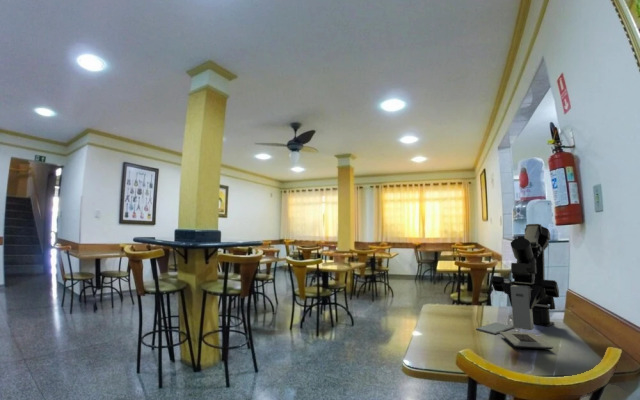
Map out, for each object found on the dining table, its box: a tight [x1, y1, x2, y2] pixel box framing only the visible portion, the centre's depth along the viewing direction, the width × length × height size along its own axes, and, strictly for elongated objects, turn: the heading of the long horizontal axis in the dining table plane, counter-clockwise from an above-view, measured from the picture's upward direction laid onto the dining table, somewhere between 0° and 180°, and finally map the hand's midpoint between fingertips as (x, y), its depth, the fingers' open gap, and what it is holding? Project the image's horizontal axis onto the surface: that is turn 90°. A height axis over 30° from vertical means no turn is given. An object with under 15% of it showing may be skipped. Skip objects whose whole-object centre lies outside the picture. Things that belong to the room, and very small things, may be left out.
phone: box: [475, 322, 515, 336], centre depth 116 cm, size 14×7×1 cm, turn 123°
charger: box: [511, 285, 534, 331], centre depth 101 cm, size 4×5×13 cm
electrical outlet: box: [499, 331, 554, 350], centre depth 100 cm, size 13×10×2 cm
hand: (521, 307), depth 100 cm, fingers closed on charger, 5 cm apart
